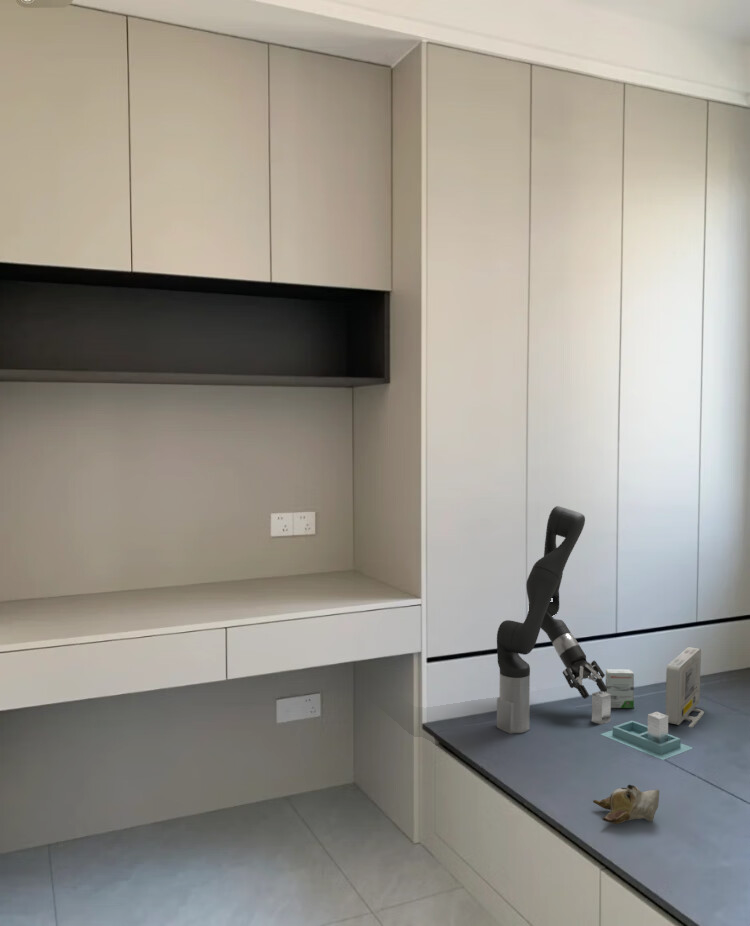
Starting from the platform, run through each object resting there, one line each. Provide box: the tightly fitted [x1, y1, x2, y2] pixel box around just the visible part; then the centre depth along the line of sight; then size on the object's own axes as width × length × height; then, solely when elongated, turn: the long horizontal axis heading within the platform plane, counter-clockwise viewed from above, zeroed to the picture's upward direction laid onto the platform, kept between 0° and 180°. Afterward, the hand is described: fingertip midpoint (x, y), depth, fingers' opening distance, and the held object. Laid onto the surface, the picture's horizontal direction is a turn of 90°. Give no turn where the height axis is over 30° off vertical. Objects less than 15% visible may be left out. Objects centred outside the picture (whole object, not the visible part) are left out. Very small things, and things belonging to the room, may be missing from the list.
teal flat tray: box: [600, 719, 694, 761], centre depth 245 cm, size 14×22×4 cm, turn 35°
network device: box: [665, 646, 705, 728], centre depth 266 cm, size 26×9×20 cm, turn 145°
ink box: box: [605, 668, 635, 709], centre depth 277 cm, size 9×5×12 cm, turn 84°
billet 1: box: [591, 690, 612, 726], centre depth 263 cm, size 4×4×9 cm
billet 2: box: [647, 711, 669, 744], centre depth 241 cm, size 4×4×9 cm
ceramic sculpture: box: [592, 784, 660, 825], centre depth 202 cm, size 11×9×15 cm
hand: (596, 694), depth 265 cm, fingers open, 8 cm apart
